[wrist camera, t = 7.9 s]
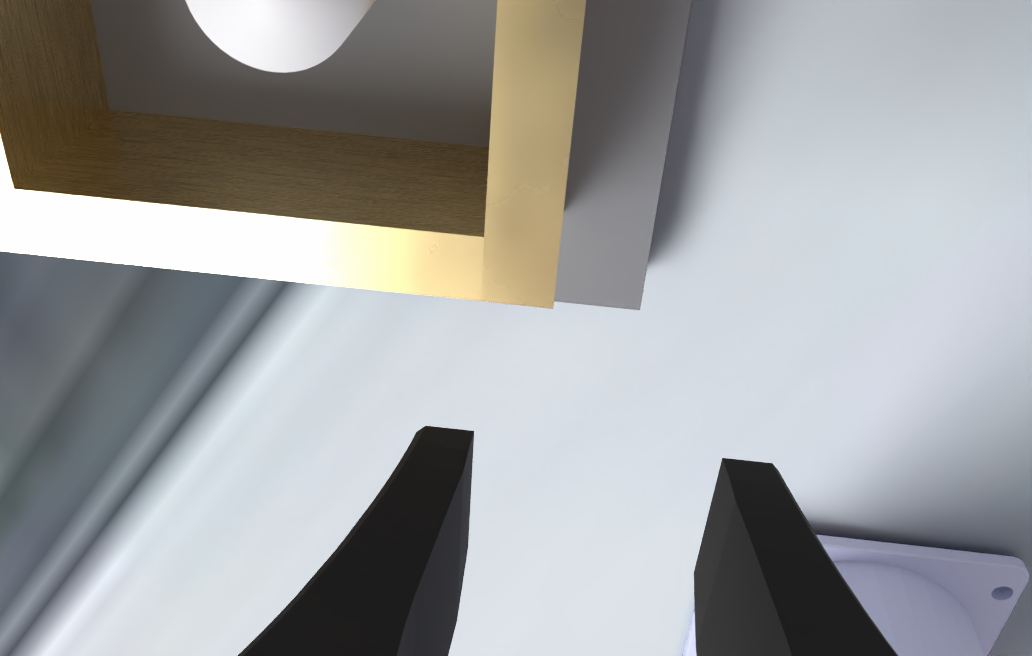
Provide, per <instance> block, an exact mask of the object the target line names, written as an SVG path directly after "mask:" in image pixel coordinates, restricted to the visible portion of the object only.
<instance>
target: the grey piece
mask: <svg viewBox="0 0 1032 656" xmlns="http://www.w3.org/2000/svg"><path fill="white" fill-rule="evenodd" d="M90 1H91V7H92V12H93V18H94V24H95V29H96V35H97V40H98V46H99V51H100V57H101V62H102V68H103V74H104V79H105V85H106V90H107V96H108V101H109V107H110V110H120V111H130V112H140V113H150V114H160V115H170V116H180V117H190V118H200V119H210V120H220V121H231V122H241V123H251V124H261V125H271V126H281V127H291V128H301V129H311V130H321V131H331V132H342V133H352V134H362V135H372V136H382V137H392V138H402V139H412V140H422V141H432V142H442V143H452V144H463V145H473V146H483V147H489V142H490V124H491V106H492V88H493V70H494V53H495V35H496V17H497V0H90ZM691 3H692V0H586V7H585V16H584V25H583V35H582V44H581V53H580V63H579V72H578V81H577V91H576V100H575V109H574V118H573V128H572V137H571V146H570V156H569V165H568V174H567V184H566V193H565V202H564V212H563V221H562V230H561V240H560V249H559V258H558V268H557V277H556V286H555V296H554V301H557V302H566V303H576V304H585V305H595V306H605V307H614V308H624V309H633V310H640V306H641V300H642V294H643V288H644V282H645V276H646V270H647V264H648V258H649V252H650V246H651V241H652V235H653V229H654V223H655V217H656V211H657V205H658V199H659V193H660V187H661V181H662V175H663V169H664V163H665V157H666V152H667V146H668V140H669V134H670V128H671V122H672V116H673V110H674V104H675V98H676V92H677V86H678V80H679V74H680V68H681V62H682V57H683V51H684V45H685V39H686V33H687V27H688V21H689V15H690V9H691Z"/></svg>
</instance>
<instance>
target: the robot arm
mask: <svg viewBox="0 0 1032 656" xmlns="http://www.w3.org/2000/svg"><path fill="white" fill-rule="evenodd" d="M473 440H474V431H468V430H459V429H449V428H440V427H431V426H425V427H423V428H422V429H420V430H419V431H417V432H416V434H415V436H414V438H413V440H412V442H411V444H410V445H409V447H408V449H407V451H406V452H405V454H404V456H403V457H402V459H401V461H400V462H399V464H398V465H397V467H396V468H395V470H394V472H393V473H392V475H391V476H390V478H389V479H388V481H387V482H386V483H385V485H384V486H383V488H382V489H381V491H380V492H379V494H378V495H377V496H376V498H375V499H374V501H373V502H372V503H371V505H370V506H369V507H368V509H367V510H366V511H365V513H364V514H363V515H362V517H361V518H360V519H359V521H358V522H357V523H356V525H355V526H354V527H353V529H352V530H351V531H350V532H349V534H348V535H347V536H346V538H345V539H344V540H343V542H342V543H341V544H340V545H339V547H338V548H337V549H336V550H335V552H334V553H333V554H332V555H331V556H330V557H329V559H328V560H327V561H326V562H325V563H324V564H323V566H322V567H321V568H320V569H319V570H318V571H317V572H316V574H315V575H314V576H313V577H312V578H311V579H310V581H309V582H308V583H307V584H306V585H305V586H304V588H303V589H302V590H301V591H300V592H299V593H298V595H297V596H296V597H295V598H294V599H293V600H292V601H291V602H290V603H289V604H288V605H287V606H286V608H285V609H284V610H283V611H282V612H281V613H280V614H279V615H278V616H277V617H276V618H275V619H274V620H273V621H272V622H271V623H270V624H269V625H268V626H267V627H266V628H265V629H264V630H263V631H262V632H261V633H260V634H259V635H258V636H257V637H256V638H255V639H254V640H253V641H252V642H251V643H250V644H249V645H248V646H247V647H246V648H245V649H244V650H243V651H242V652H241V653H240V654H239V655H238V656H448V653H449V649H450V645H451V641H452V637H453V634H454V630H455V626H456V622H457V616H458V609H459V603H460V596H461V590H462V583H463V576H464V569H465V563H466V556H467V549H468V534H469V516H470V497H471V478H472V459H473ZM1029 576H1030V575H1029V573H1028V571H1027V568H1026V566H1025V564H1024V562H1023V561H1022V560H1020V559H1019V558H1016V557H1012V556H1003V555H994V554H985V553H976V552H968V551H959V550H950V549H941V548H932V547H923V546H914V545H905V544H896V543H887V542H878V541H869V540H860V539H851V538H842V537H833V536H824V535H816V534H815V532H814V531H813V529H812V528H811V526H810V524H809V523H808V521H807V519H806V518H805V516H804V514H803V513H802V511H801V509H800V507H799V506H798V504H797V502H796V501H795V499H794V497H793V495H792V494H791V492H790V490H789V488H788V487H787V485H786V483H785V482H784V480H783V478H782V476H781V474H780V473H779V471H778V470H777V469H776V467H775V466H774V465H773V464H772V463H763V462H754V461H745V460H736V459H726V458H722V462H721V466H720V470H719V474H718V478H717V482H716V486H715V490H714V494H713V498H712V502H711V506H710V510H709V514H708V518H707V522H706V526H705V530H704V534H703V538H702V543H701V547H700V551H699V555H698V559H697V563H696V567H695V571H694V597H695V608H694V612H693V616H692V620H691V624H690V628H689V631H688V635H687V639H686V643H685V647H684V650H683V654H682V656H988V654H989V652H990V650H991V648H992V647H993V645H994V643H995V641H996V639H997V638H998V636H999V634H1000V632H1001V630H1002V628H1003V627H1004V625H1005V623H1006V621H1007V619H1008V617H1009V616H1010V614H1011V612H1012V610H1013V608H1014V606H1015V605H1016V603H1017V601H1018V599H1019V597H1020V595H1021V594H1022V592H1023V590H1024V588H1025V586H1026V585H1027V583H1028V581H1029ZM998 587H1000V588H998Z"/></svg>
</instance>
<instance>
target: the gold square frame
mask: <svg viewBox="0 0 1032 656" xmlns="http://www.w3.org/2000/svg"><path fill="white" fill-rule="evenodd" d="M585 7H586V0H497V17H496V35H495V53H494V70H493V88H492V106H491V124H490V142H489V147H483V146H473V145H463V144H452V143H442V142H432V141H422V140H412V139H402V138H392V137H382V136H372V135H362V134H352V133H342V132H331V131H321V130H311V129H301V128H291V127H281V126H271V125H261V124H251V123H241V122H231V121H220V120H210V119H200V118H190V117H180V116H170V115H160V114H150V113H140V112H130V111H120V110H110V107H109V101H108V96H107V90H106V85H105V79H104V74H103V68H102V62H101V57H100V51H99V46H98V40H97V35H96V29H95V24H94V18H93V12H92V7H91V1H90V0H0V251H6V252H15V253H25V254H35V255H44V256H54V257H63V258H73V259H82V260H92V261H101V262H111V263H121V264H130V265H140V266H149V267H159V268H168V269H178V270H187V271H197V272H206V273H216V274H226V275H235V276H245V277H254V278H264V279H273V280H283V281H292V282H302V283H311V284H321V285H331V286H340V287H350V288H359V289H369V290H378V291H388V292H397V293H407V294H417V295H426V296H436V297H445V298H455V299H464V300H474V301H483V302H493V303H502V304H512V305H522V306H531V307H541V308H550V309H553V305H554V296H555V286H556V277H557V268H558V258H559V249H560V240H561V230H562V221H563V212H564V202H565V193H566V184H567V174H568V165H569V156H570V146H571V137H572V128H573V118H574V109H575V100H576V91H577V81H578V72H579V63H580V53H581V44H582V35H583V25H584V16H585Z"/></svg>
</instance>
